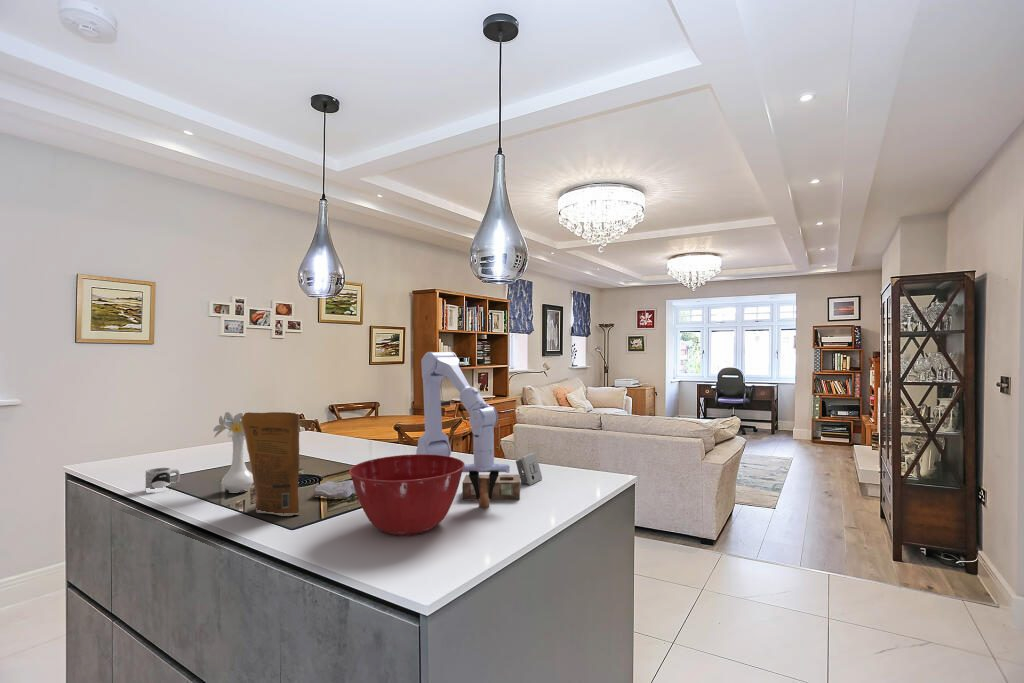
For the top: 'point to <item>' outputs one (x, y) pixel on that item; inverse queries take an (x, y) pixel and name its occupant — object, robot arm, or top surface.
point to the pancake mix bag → (274, 459)
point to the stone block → (335, 489)
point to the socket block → (495, 487)
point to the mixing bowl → (407, 491)
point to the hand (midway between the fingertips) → (484, 497)
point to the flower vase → (235, 454)
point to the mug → (160, 477)
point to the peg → (484, 492)
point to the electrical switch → (529, 469)
